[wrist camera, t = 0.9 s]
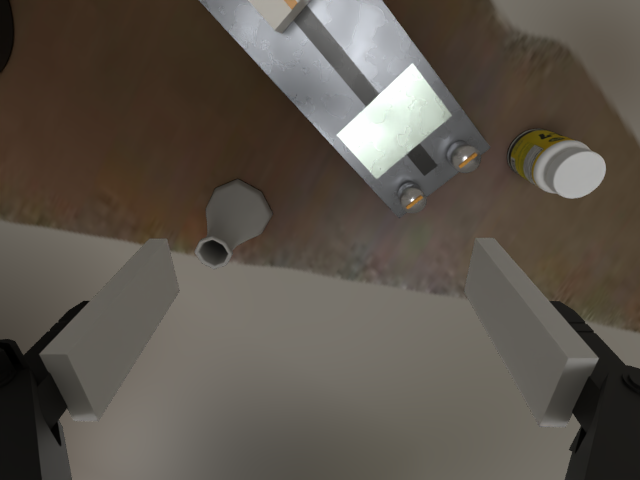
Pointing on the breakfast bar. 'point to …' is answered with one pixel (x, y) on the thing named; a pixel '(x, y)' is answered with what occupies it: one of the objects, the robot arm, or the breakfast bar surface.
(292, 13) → the fader
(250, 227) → the flask
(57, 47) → the breakfast bar surface
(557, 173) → the supplement bottle
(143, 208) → the breakfast bar surface
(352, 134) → the console
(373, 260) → the breakfast bar surface
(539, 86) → the breakfast bar surface
